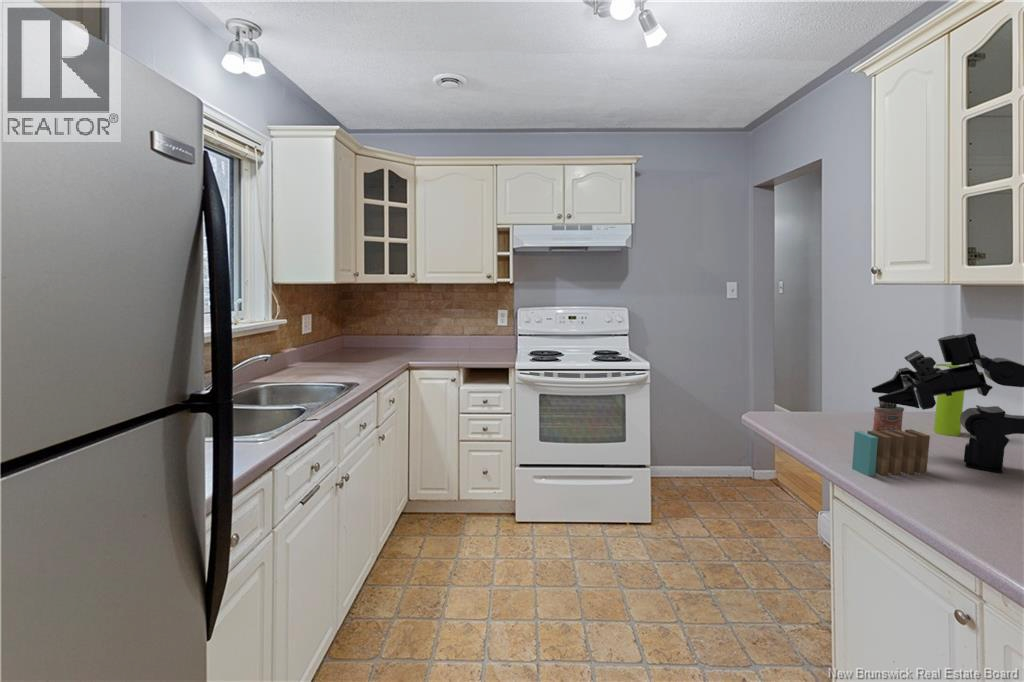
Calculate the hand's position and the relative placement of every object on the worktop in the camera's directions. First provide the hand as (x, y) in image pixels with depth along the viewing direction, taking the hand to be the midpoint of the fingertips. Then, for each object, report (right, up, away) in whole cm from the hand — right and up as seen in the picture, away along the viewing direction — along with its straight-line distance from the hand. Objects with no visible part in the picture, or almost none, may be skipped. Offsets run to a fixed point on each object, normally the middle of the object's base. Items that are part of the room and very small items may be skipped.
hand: (875, 394), depth 135 cm
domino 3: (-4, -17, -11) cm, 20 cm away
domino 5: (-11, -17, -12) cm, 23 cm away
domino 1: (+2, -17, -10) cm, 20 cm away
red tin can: (+17, -13, +20) cm, 29 cm away
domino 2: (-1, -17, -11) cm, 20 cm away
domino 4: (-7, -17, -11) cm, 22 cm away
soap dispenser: (+34, -13, +20) cm, 41 cm away
